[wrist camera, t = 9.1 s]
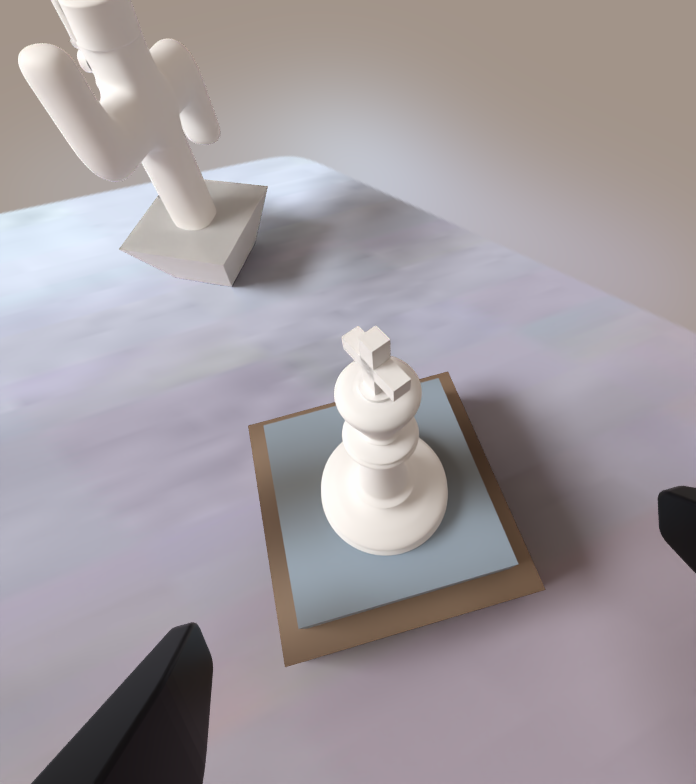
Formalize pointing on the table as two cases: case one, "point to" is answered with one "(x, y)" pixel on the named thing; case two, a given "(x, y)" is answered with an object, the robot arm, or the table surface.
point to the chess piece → (381, 454)
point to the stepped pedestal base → (376, 572)
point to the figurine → (147, 137)
